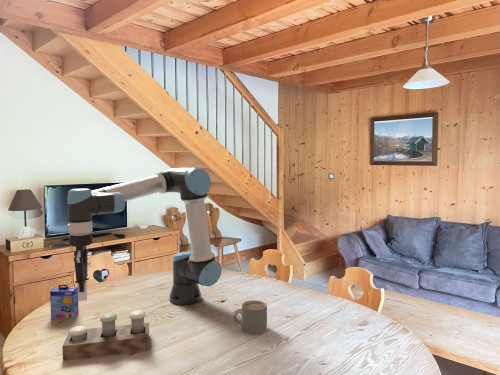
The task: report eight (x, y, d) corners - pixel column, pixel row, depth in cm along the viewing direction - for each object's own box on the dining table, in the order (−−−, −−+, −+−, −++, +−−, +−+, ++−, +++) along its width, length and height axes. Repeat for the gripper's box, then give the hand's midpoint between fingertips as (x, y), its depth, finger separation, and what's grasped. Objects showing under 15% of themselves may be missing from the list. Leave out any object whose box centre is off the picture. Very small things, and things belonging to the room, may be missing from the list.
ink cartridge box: (50, 319, 159) (49, 285, 158) (55, 314, 165) (54, 281, 164) (74, 318, 160) (73, 285, 159) (79, 313, 166) (78, 281, 165)
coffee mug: (267, 324, 156) (268, 300, 155) (265, 335, 146) (265, 310, 145) (235, 322, 158) (235, 299, 157) (231, 333, 148) (231, 308, 147)
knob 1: (88, 343, 137) (88, 325, 136) (86, 351, 131) (85, 331, 131) (71, 345, 135) (71, 326, 135) (68, 353, 130) (68, 333, 130)
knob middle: (117, 330, 139) (117, 312, 139) (116, 337, 134) (116, 318, 133) (101, 332, 138) (101, 313, 137) (99, 339, 132) (99, 319, 132)
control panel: (149, 335, 145) (149, 322, 145) (149, 350, 134) (149, 336, 134) (70, 343, 138) (69, 330, 138) (62, 360, 127) (62, 346, 126)
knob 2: (145, 327, 142) (145, 309, 141) (145, 334, 136) (145, 315, 136) (130, 329, 140) (129, 310, 140) (129, 336, 135) (129, 316, 134)
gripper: (72, 230, 136) (74, 294, 138) (64, 237, 124) (66, 308, 126) (94, 229, 138) (96, 292, 140) (89, 236, 126) (91, 305, 127)
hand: (82, 299), depth 133 cm, fingers closed
